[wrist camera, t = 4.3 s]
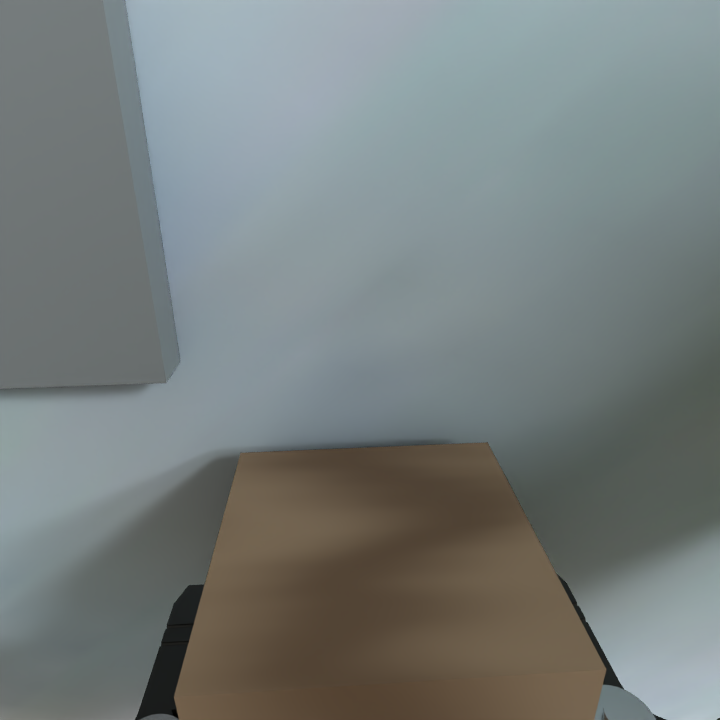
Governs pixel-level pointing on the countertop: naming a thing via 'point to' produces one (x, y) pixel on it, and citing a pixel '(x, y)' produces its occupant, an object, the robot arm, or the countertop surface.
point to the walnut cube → (383, 596)
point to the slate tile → (77, 204)
